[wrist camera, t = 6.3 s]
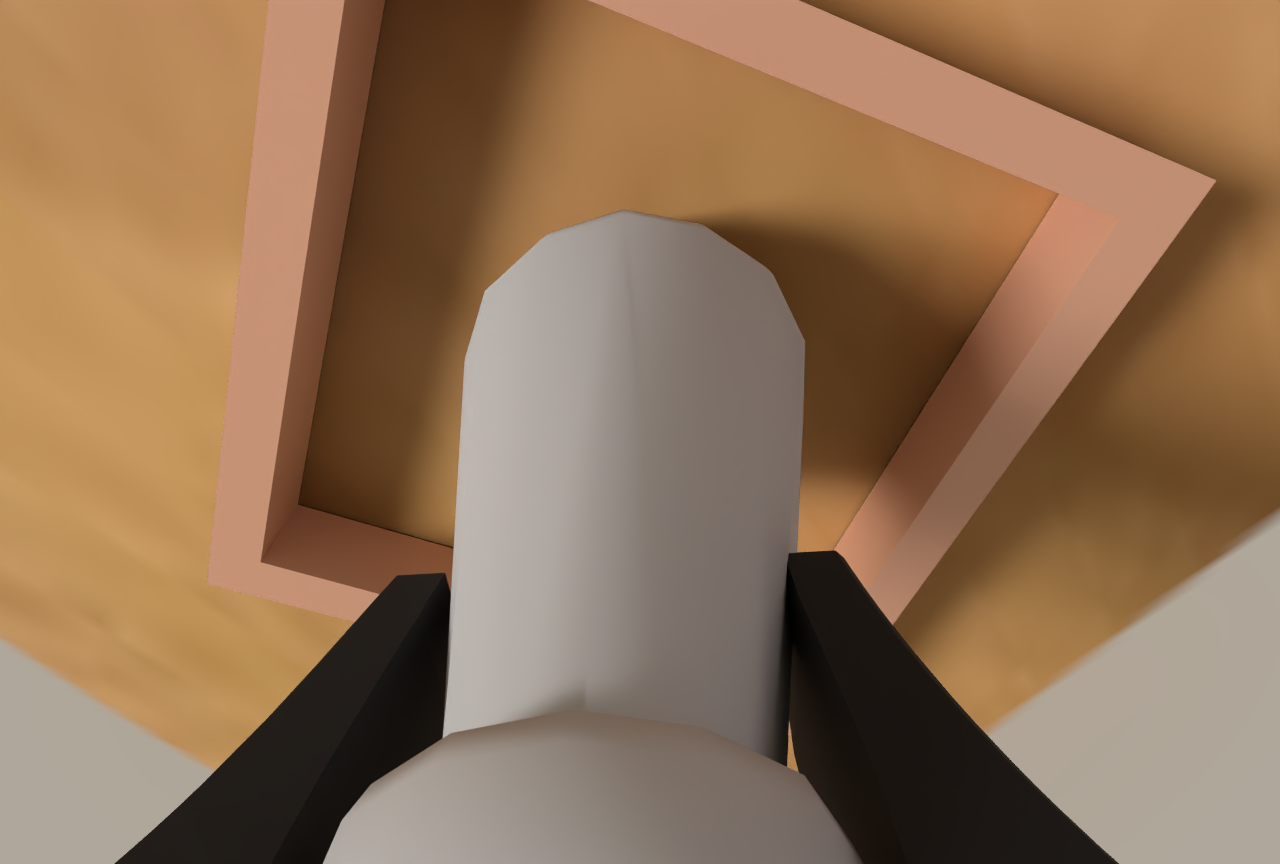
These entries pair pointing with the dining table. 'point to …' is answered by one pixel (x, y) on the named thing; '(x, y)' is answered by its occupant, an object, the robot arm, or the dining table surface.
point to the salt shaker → (618, 572)
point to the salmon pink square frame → (777, 45)
